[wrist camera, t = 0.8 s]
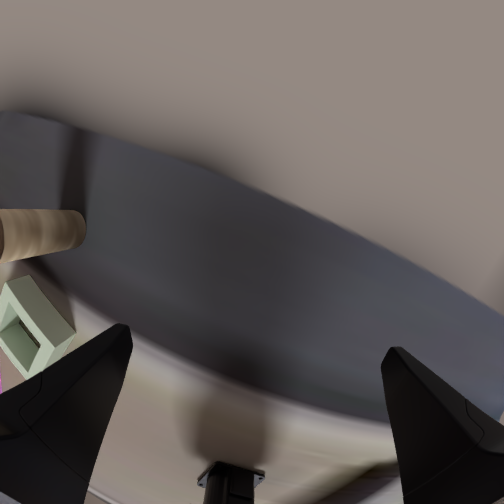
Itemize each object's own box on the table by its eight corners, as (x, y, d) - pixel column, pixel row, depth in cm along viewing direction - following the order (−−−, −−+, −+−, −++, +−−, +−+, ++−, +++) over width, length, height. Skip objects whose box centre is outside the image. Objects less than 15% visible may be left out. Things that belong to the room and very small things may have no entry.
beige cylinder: (78, 256, 22) (-22, 282, 10) (53, 237, 22) (-44, 252, 9) (91, 220, 22) (-14, 225, 9) (66, 203, 22) (-36, 199, 9)
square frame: (76, 332, 23) (55, 347, 19) (51, 372, 24) (33, 388, 20) (29, 274, 22) (5, 281, 18) (10, 321, 23) (-10, 331, 19)
